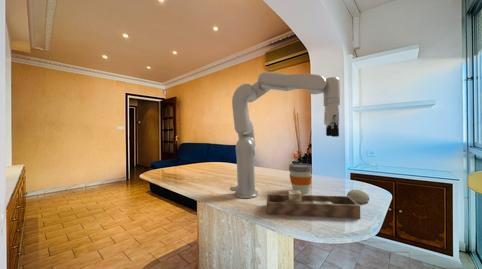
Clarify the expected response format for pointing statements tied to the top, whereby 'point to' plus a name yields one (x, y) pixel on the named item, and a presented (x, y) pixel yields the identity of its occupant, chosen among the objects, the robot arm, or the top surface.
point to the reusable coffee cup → (300, 177)
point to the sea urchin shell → (358, 196)
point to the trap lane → (313, 206)
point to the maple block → (295, 196)
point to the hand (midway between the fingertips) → (332, 136)
